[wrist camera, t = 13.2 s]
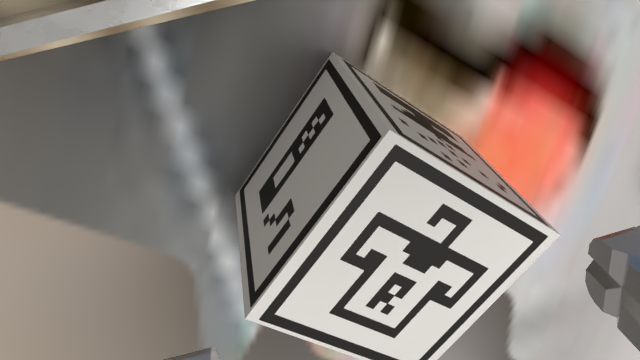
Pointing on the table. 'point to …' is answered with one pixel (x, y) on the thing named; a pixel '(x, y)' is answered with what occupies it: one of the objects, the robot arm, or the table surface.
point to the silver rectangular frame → (77, 20)
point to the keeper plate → (6, 3)
